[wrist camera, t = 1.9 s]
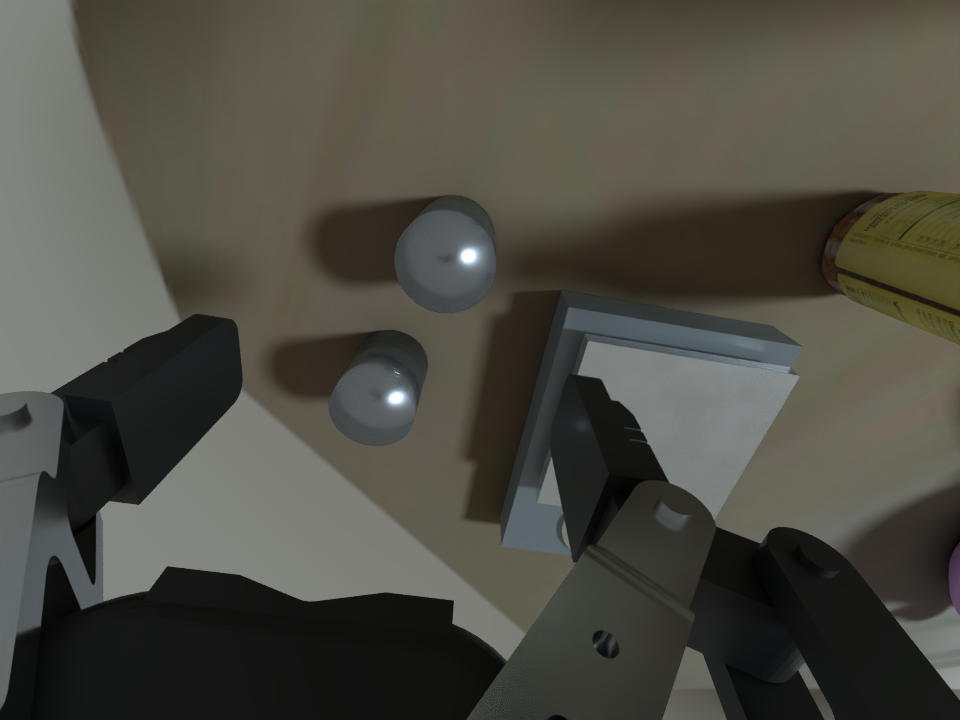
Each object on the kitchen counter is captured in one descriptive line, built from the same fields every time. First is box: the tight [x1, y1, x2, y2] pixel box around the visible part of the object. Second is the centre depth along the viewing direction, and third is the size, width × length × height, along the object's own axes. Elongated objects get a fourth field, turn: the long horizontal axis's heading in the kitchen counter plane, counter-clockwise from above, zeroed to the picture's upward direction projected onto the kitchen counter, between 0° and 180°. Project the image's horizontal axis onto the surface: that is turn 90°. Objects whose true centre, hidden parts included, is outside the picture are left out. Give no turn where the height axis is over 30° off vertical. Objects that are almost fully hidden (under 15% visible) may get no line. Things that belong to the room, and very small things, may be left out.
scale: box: [500, 290, 803, 556], centre depth 30 cm, size 14×20×4 cm
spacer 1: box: [328, 330, 428, 446], centre depth 27 cm, size 5×5×6 cm
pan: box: [536, 333, 800, 519], centre depth 26 cm, size 12×12×1 cm
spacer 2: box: [394, 195, 496, 313], centre depth 23 cm, size 5×5×6 cm
